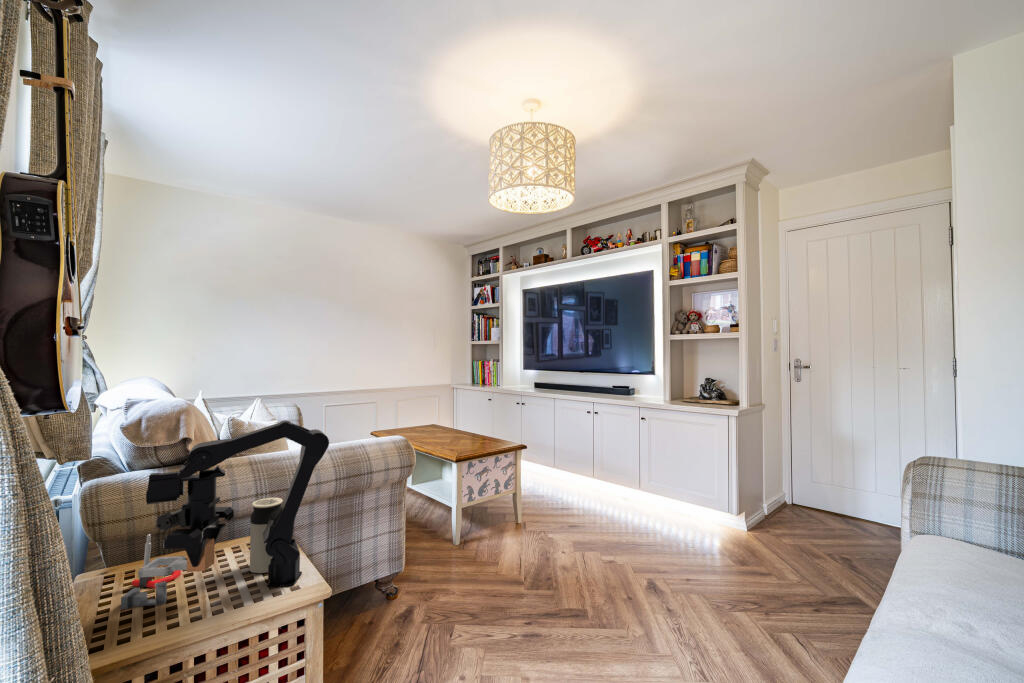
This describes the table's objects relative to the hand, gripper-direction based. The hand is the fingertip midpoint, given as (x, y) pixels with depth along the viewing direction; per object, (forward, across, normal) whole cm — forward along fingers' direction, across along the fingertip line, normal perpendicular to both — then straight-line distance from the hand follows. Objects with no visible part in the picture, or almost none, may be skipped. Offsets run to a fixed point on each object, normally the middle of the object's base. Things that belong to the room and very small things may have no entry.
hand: (200, 562), depth 107 cm
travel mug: (+9, -16, +8) cm, 20 cm away
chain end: (+1, 0, -5) cm, 5 cm away
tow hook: (+10, -12, -17) cm, 23 cm away
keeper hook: (+9, 0, -12) cm, 15 cm away
